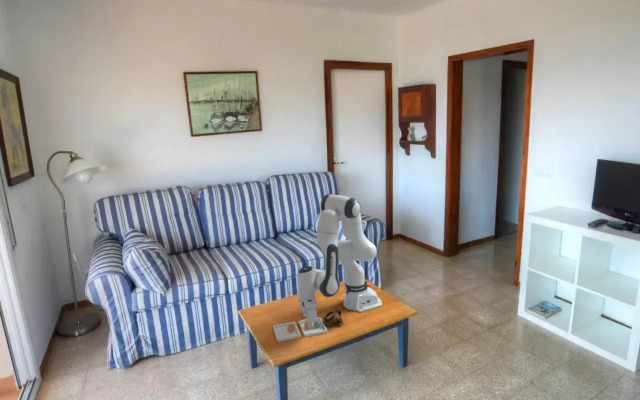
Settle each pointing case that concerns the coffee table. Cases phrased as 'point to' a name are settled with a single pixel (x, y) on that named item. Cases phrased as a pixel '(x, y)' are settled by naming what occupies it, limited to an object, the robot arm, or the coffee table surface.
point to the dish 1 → (285, 332)
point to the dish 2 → (313, 328)
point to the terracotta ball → (291, 328)
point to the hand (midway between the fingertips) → (307, 322)
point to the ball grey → (317, 323)
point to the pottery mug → (333, 317)
